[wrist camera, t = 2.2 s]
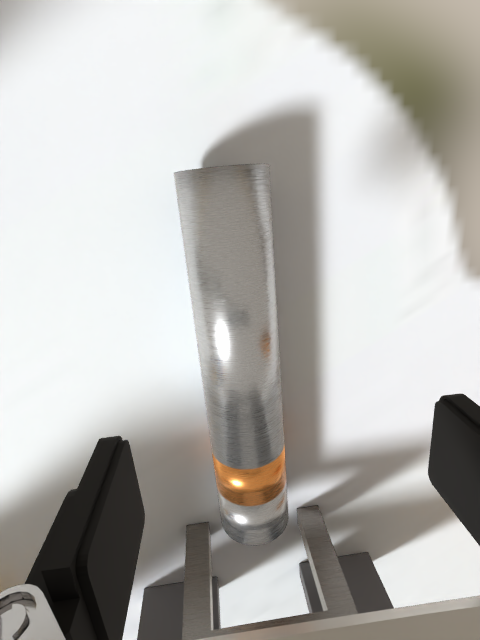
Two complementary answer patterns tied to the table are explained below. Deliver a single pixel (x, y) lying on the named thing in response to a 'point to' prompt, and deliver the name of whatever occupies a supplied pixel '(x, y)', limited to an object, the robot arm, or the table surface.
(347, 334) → the table surface
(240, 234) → the steel tube
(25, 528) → the table surface
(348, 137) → the table surface
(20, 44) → the table surface
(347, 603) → the collar
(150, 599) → the plate
